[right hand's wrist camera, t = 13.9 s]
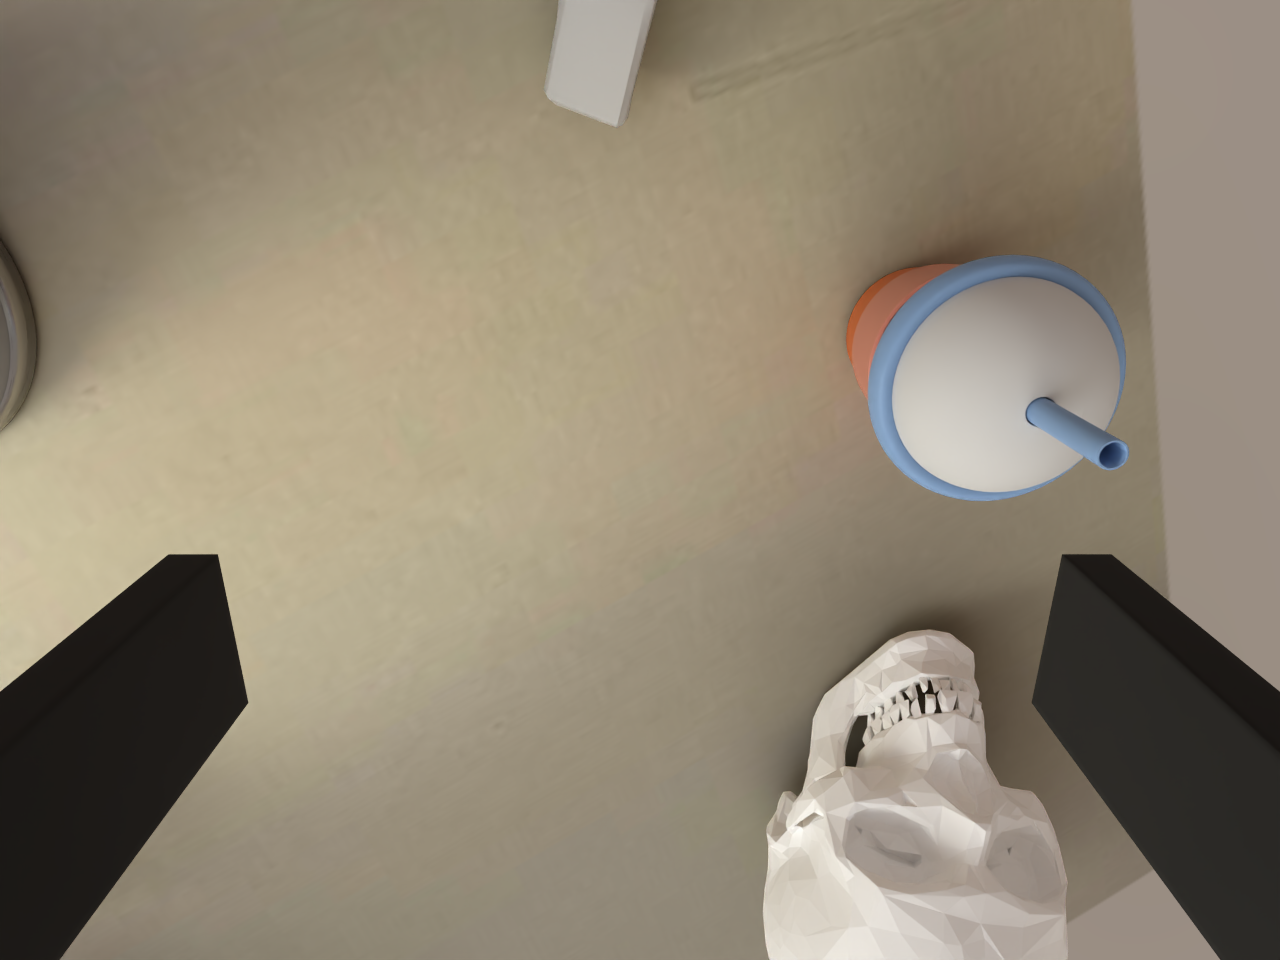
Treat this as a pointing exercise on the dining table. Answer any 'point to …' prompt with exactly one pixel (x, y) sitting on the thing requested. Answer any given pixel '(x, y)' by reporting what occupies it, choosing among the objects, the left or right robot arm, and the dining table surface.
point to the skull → (911, 828)
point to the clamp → (598, 56)
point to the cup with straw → (989, 374)
